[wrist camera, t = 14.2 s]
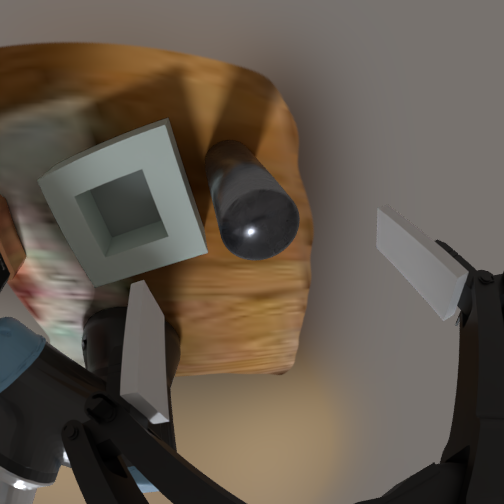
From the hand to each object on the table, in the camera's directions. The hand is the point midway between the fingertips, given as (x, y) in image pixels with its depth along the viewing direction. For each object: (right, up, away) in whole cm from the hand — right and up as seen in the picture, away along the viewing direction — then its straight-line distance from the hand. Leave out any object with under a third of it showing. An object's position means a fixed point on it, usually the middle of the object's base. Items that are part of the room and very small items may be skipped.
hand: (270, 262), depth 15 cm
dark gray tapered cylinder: (-3, +10, +14) cm, 17 cm away
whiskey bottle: (-35, +3, +11) cm, 36 cm away
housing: (-14, +6, +14) cm, 20 cm away
